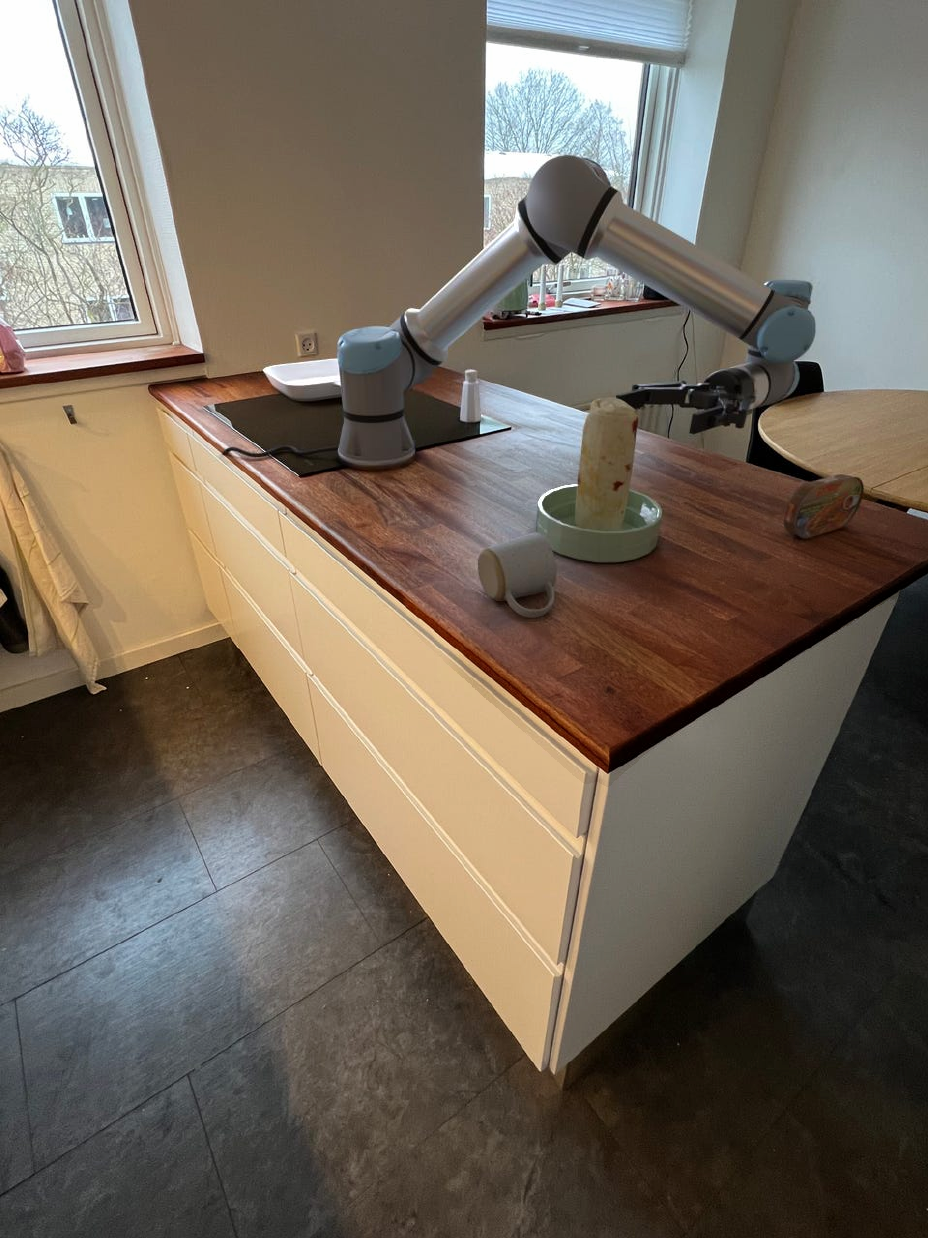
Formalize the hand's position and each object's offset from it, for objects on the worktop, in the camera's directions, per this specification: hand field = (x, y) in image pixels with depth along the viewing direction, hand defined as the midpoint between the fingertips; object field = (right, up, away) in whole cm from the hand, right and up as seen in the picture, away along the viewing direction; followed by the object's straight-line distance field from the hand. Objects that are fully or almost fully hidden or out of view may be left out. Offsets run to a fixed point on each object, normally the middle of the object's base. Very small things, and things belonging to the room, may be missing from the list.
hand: (653, 413), depth 93 cm
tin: (+27, -16, +7) cm, 33 cm away
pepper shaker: (-26, +17, +57) cm, 65 cm away
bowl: (-8, -18, +4) cm, 20 cm away
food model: (-8, -17, +4) cm, 19 cm away
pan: (-63, +30, +77) cm, 104 cm away
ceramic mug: (-20, -28, -11) cm, 36 cm away
